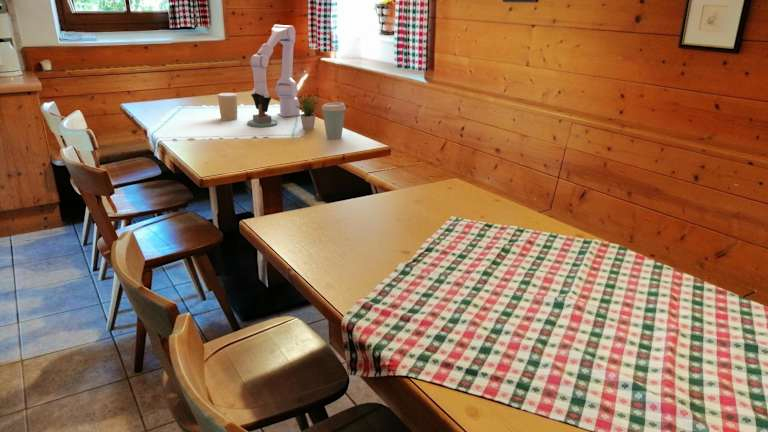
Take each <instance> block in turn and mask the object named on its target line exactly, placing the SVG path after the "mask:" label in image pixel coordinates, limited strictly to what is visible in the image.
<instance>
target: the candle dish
mask: <svg viewBox="0 0 768 432" xmlns="http://www.w3.org/2000/svg"><path fill="white" fill-rule="evenodd" d="M277 125H278V121H277V119H273V118H272V116H271V115H270V114H267V113H265V117H259V113H258V114H253V115H252V119H250V120H248V121H247V126H248V127H254V128H269V127H275V126H277Z"/></svg>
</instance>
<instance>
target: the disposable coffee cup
mask: <svg viewBox="0 0 768 432" xmlns="http://www.w3.org/2000/svg"><path fill="white" fill-rule="evenodd" d="M321 109H322V115H323V120H324V121H323V123H324V128H325V134H326V135H325V136H326V137H327V139H331V140H332V139H333V140H337V139H341V138H342V134H343V128H344V121H345V113H346V110H347V106H345V103H344V102H341V101H340V102H329V103H328V102H327V103H325V104H323V105H321Z"/></svg>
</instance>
